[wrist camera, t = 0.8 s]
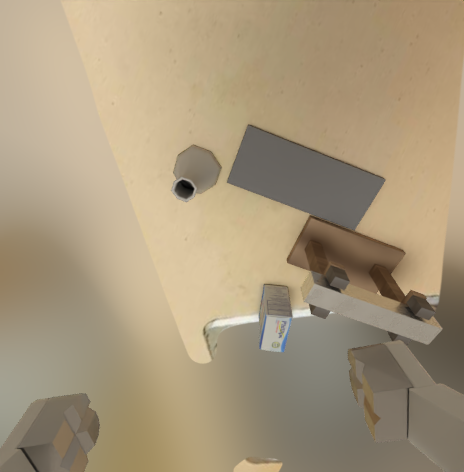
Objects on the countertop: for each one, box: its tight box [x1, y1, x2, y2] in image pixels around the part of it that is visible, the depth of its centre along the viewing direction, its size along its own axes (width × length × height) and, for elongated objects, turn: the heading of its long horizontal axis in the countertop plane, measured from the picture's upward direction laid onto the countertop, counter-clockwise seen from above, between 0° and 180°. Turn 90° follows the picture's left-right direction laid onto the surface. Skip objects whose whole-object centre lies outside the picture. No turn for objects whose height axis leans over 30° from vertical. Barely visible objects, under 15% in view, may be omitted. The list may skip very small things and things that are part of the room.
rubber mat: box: [227, 125, 385, 230], centre depth 48 cm, size 9×22×1 cm, turn 70°
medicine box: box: [259, 284, 292, 352], centre depth 55 cm, size 8×4×9 cm, turn 175°
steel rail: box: [301, 271, 442, 345], centre depth 41 cm, size 3×18×3 cm, turn 70°
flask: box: [171, 145, 221, 202], centre depth 44 cm, size 7×7×10 cm
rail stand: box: [287, 215, 436, 346], centre depth 47 cm, size 9×17×15 cm, turn 70°
